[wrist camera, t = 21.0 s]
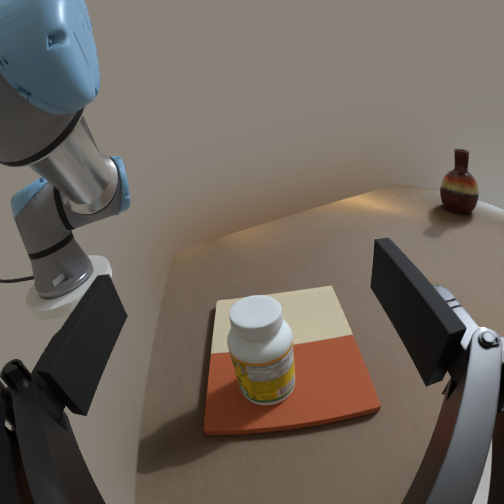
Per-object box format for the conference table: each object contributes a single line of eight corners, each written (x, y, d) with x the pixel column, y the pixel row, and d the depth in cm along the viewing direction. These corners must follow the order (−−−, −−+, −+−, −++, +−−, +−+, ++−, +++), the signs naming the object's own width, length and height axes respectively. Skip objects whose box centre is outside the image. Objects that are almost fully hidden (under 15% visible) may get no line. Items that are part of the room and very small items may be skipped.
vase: (431, 202, 64) (433, 145, 57) (459, 200, 63) (462, 147, 56) (455, 218, 54) (460, 153, 47) (483, 214, 54) (489, 155, 47)
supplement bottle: (297, 404, 23) (294, 331, 19) (238, 408, 23) (215, 338, 19) (292, 361, 28) (287, 286, 23) (241, 366, 28) (223, 293, 24)
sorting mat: (206, 435, 22) (203, 431, 21) (218, 306, 40) (216, 300, 39) (378, 411, 21) (381, 406, 21) (331, 291, 39) (331, 285, 39)
